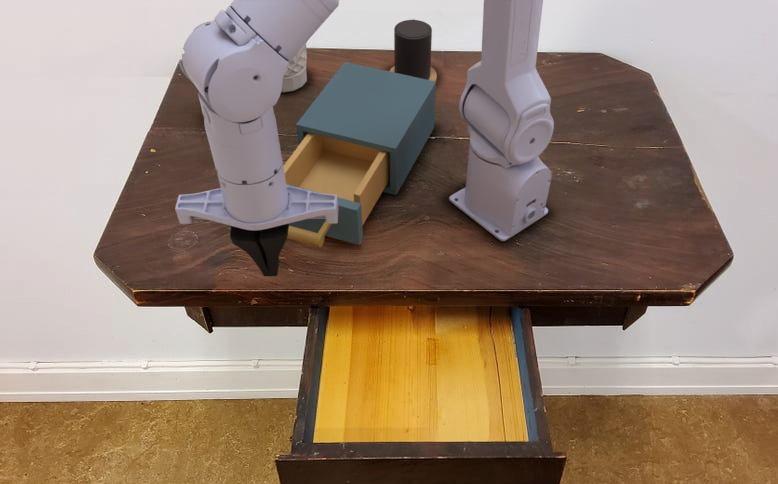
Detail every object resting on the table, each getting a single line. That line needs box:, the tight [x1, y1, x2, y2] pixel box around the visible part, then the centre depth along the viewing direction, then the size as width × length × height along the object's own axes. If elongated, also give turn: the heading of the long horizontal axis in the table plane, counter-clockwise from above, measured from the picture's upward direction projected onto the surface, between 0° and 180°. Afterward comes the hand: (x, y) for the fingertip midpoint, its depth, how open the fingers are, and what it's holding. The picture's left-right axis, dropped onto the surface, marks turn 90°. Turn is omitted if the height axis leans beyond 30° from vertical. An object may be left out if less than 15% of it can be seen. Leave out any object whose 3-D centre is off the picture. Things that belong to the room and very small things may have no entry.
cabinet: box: [295, 61, 437, 196], centre depth 87 cm, size 15×13×7 cm
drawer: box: [283, 133, 390, 248], centre depth 80 cm, size 18×11×5 cm, turn 161°
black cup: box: [393, 19, 433, 80], centre depth 98 cm, size 5×5×7 cm
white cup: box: [281, 42, 308, 93], centre depth 96 cm, size 8×8×10 cm
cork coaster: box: [389, 65, 438, 83], centre depth 101 cm, size 7×7×1 cm
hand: (271, 269), depth 71 cm, fingers closed
